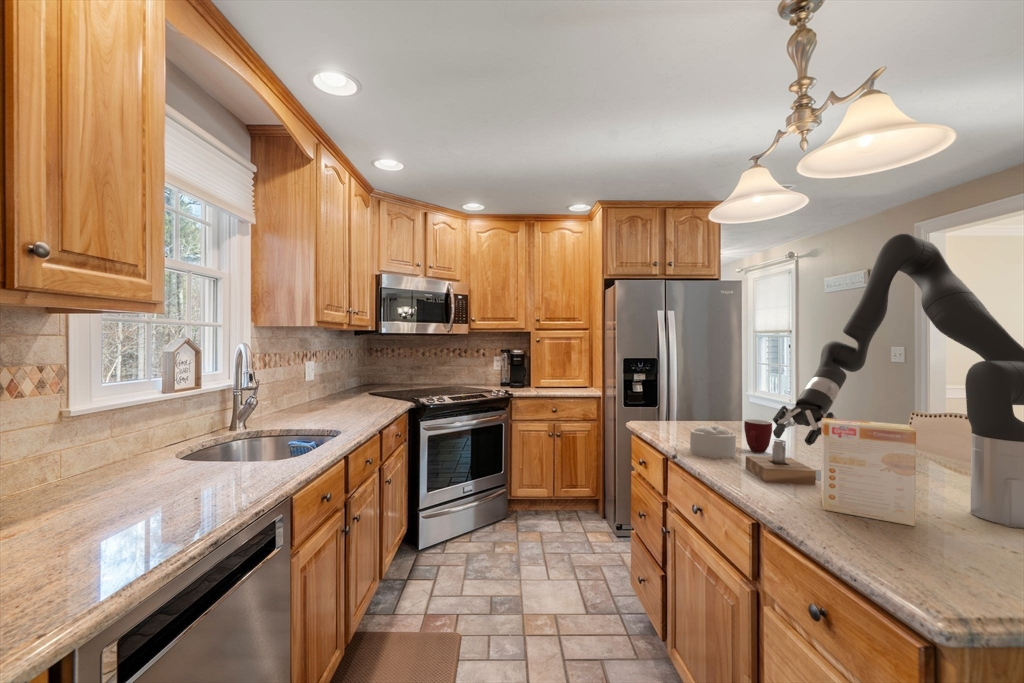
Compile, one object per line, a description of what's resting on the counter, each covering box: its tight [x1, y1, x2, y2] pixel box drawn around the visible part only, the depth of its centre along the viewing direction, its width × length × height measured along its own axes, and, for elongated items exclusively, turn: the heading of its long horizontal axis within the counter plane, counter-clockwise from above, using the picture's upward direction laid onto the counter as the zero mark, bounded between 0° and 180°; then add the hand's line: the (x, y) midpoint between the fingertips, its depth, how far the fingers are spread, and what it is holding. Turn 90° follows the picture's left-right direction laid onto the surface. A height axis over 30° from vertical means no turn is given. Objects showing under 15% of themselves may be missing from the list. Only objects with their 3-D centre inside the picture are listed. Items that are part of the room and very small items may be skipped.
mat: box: [814, 469, 821, 482], centre depth 114 cm, size 10×8×1 cm
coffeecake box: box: [820, 418, 917, 527], centre depth 90 cm, size 15×7×20 cm, turn 58°
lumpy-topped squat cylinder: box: [689, 425, 737, 460], centre depth 136 cm, size 10×13×9 cm
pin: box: [771, 438, 787, 465], centre depth 112 cm, size 3×3×10 cm
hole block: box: [745, 455, 817, 486], centre depth 112 cm, size 12×12×4 cm
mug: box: [743, 419, 773, 454], centre depth 138 cm, size 11×8×10 cm
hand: (791, 439), depth 114 cm, fingers open, 8 cm apart
